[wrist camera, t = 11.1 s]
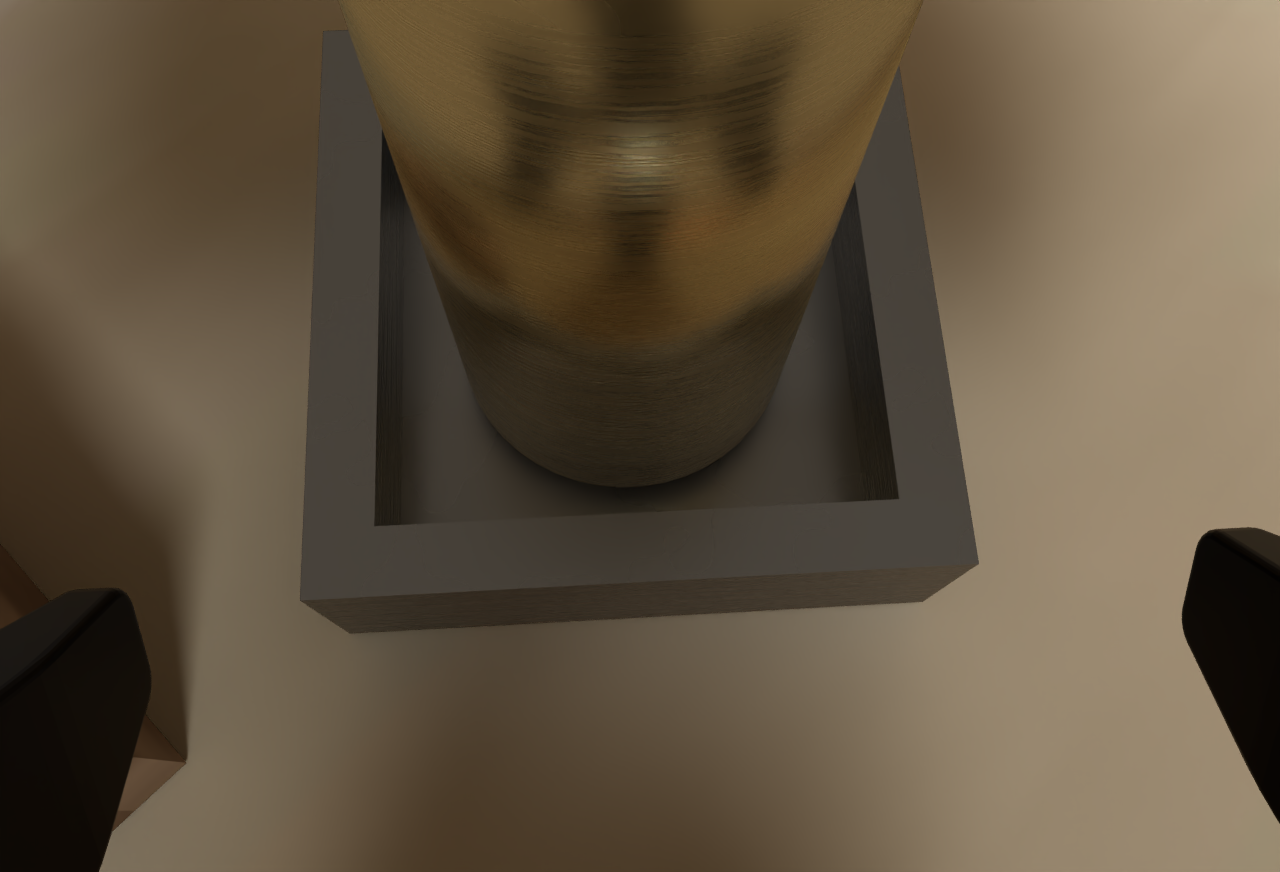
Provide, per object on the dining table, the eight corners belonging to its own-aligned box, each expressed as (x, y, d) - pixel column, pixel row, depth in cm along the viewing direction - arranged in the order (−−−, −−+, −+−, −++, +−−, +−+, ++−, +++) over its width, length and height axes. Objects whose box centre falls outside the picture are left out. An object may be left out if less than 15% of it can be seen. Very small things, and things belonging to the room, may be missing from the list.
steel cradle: (853, 117, 21) (890, 11, 19) (922, 602, 18) (978, 564, 16) (362, 135, 21) (323, 31, 18) (350, 633, 18) (300, 600, 15)
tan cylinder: (850, 336, 19) (1143, -251, 8) (619, 555, 17) (626, 182, 7) (627, 136, 20) (640, -596, 10) (395, 328, 19) (117, -280, 8)
